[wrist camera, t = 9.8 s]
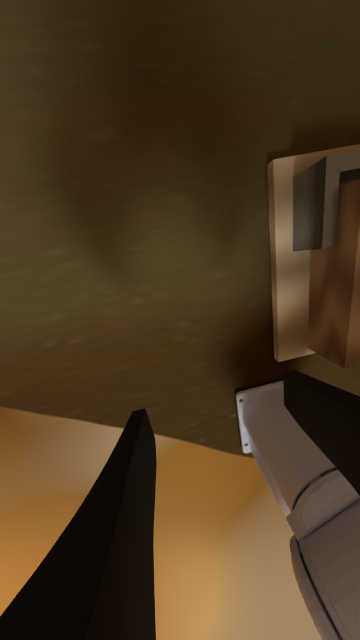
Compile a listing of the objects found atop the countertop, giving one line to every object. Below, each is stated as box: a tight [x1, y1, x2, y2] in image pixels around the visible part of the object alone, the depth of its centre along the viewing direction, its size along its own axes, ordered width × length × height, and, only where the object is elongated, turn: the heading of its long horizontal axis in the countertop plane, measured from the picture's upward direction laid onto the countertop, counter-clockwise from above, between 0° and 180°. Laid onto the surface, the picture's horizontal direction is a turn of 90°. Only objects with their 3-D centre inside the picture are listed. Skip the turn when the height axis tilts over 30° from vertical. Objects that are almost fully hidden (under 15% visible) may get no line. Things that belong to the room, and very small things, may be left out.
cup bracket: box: [293, 150, 360, 251], centre depth 14 cm, size 6×7×3 cm
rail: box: [308, 179, 360, 369], centre depth 15 cm, size 14×3×4 cm, turn 11°
